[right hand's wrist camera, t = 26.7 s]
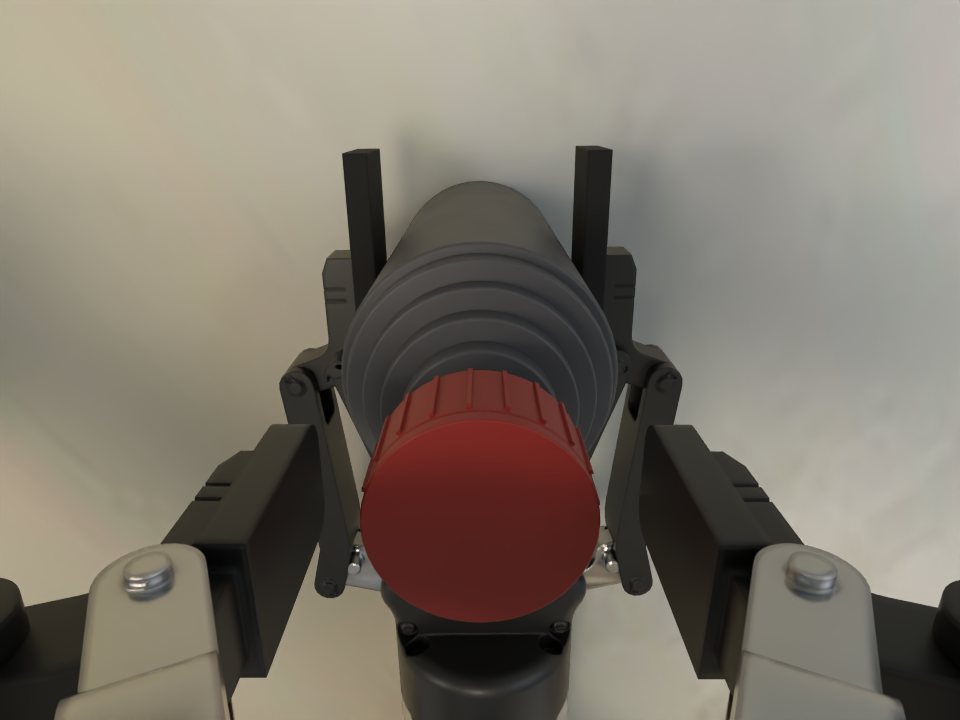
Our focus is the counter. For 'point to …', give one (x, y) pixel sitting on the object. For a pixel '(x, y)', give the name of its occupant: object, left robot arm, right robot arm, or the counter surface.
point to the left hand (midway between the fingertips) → (477, 150)
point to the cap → (479, 498)
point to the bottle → (479, 312)
